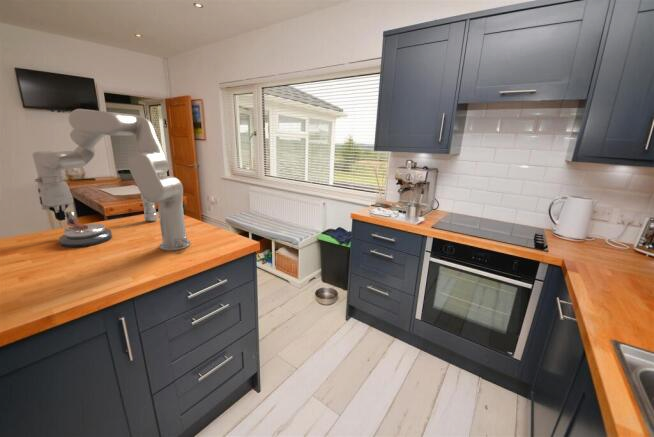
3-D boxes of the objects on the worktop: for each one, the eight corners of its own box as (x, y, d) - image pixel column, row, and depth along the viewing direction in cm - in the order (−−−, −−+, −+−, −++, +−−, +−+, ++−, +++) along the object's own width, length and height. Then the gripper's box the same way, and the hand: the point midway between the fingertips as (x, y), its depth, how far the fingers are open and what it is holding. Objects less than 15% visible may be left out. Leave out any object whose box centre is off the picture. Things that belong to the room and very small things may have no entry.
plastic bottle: (153, 222, 154) (148, 188, 148) (142, 222, 154) (136, 187, 148) (160, 219, 160) (156, 186, 154) (149, 219, 160) (144, 185, 154)
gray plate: (119, 238, 129) (118, 232, 129) (71, 251, 114) (70, 244, 113) (100, 231, 138) (99, 225, 137) (53, 242, 122) (51, 236, 121)
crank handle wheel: (75, 241, 116) (70, 222, 114) (52, 233, 124) (47, 214, 122) (111, 232, 128) (108, 214, 126) (88, 225, 136) (85, 208, 134)
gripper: (33, 183, 111) (44, 225, 116) (76, 178, 125) (85, 217, 130) (23, 181, 114) (35, 222, 119) (67, 177, 127) (76, 214, 132)
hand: (61, 219), depth 124 cm, fingers closed
